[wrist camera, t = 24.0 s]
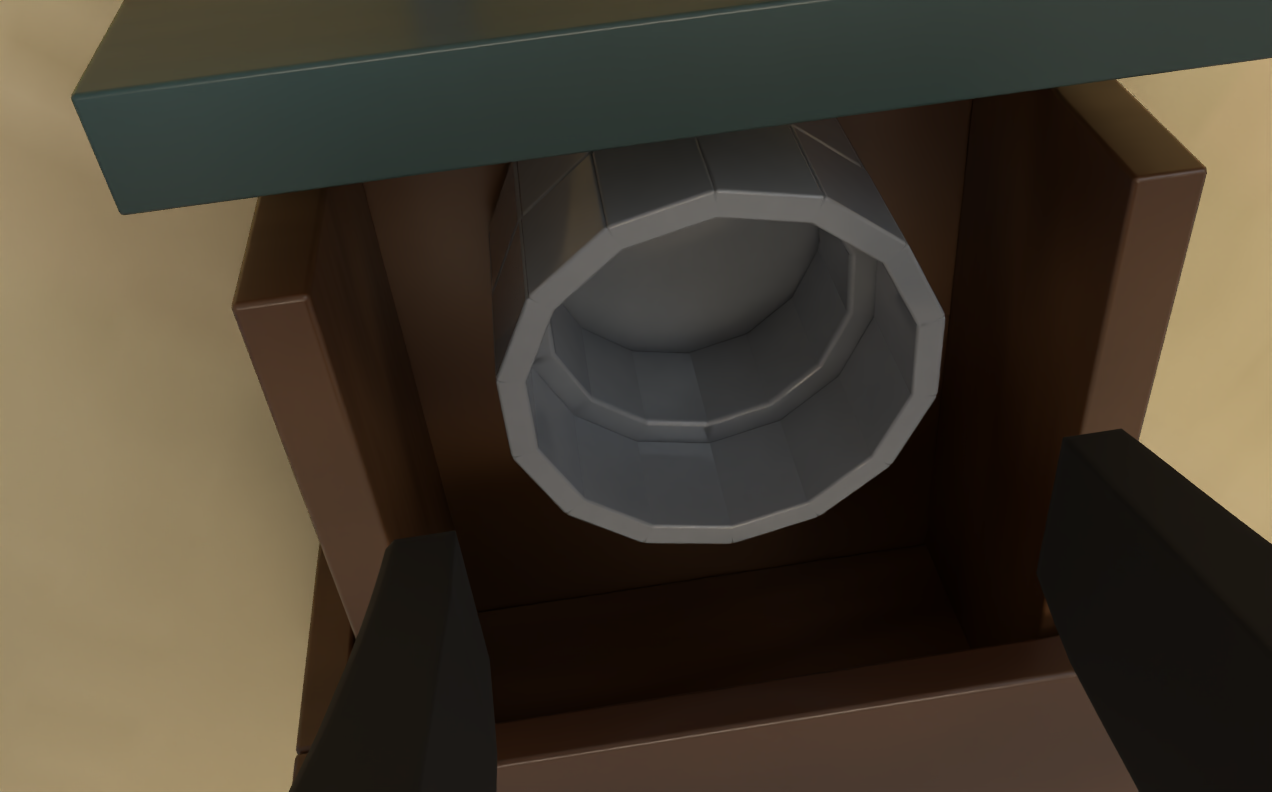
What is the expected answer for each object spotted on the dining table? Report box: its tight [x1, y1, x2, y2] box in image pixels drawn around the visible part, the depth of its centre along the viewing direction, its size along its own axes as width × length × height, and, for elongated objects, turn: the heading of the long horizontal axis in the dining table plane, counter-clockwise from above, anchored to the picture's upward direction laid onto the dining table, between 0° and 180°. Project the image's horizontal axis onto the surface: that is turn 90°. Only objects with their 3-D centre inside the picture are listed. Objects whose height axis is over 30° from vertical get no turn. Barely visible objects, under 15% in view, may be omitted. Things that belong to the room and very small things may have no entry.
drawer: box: [71, 0, 1272, 723], centre depth 15 cm, size 18×11×6 cm, turn 5°
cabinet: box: [292, 542, 1139, 792], centre depth 23 cm, size 14×12×7 cm
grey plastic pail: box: [488, 118, 945, 544], centre depth 16 cm, size 5×5×4 cm
